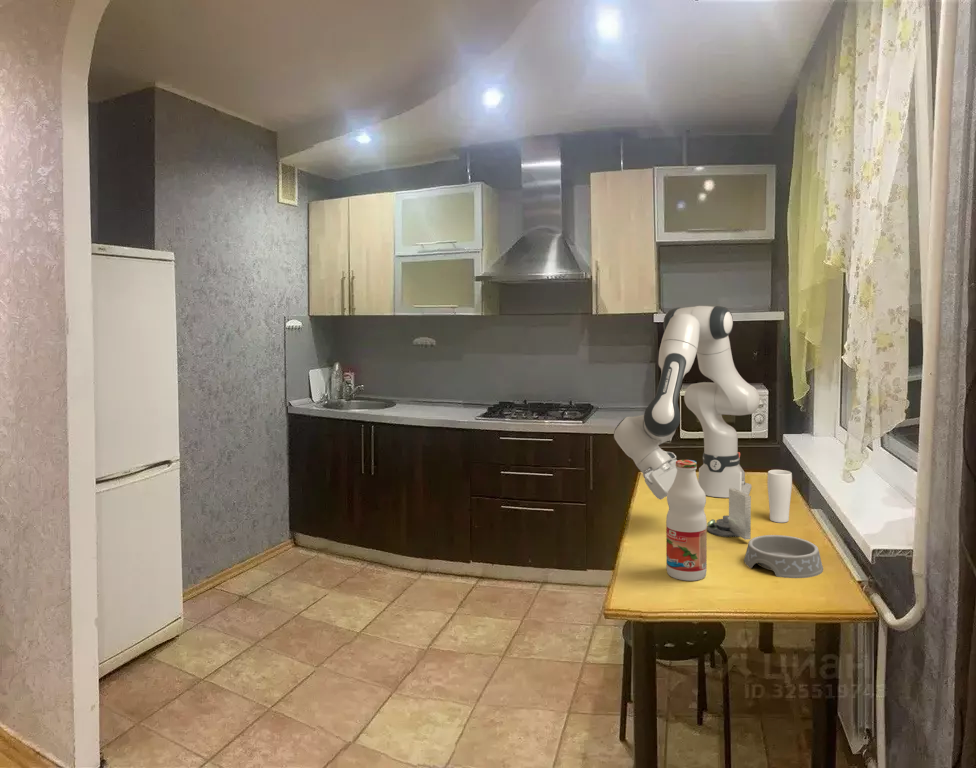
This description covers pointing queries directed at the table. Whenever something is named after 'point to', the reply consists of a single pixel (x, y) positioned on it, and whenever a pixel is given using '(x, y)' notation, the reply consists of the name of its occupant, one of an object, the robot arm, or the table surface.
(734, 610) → the table surface
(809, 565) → the dog bowl
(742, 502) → the upright slab
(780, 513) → the drinking glass
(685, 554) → the white plastic bottle
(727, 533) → the base
